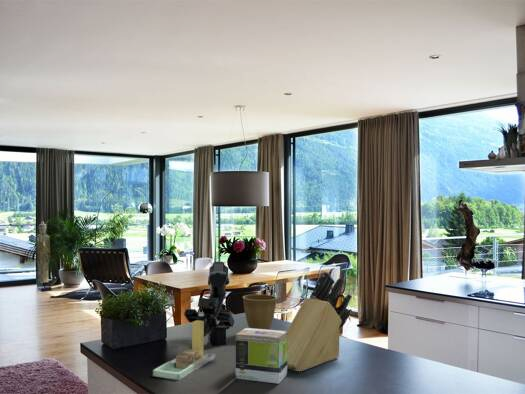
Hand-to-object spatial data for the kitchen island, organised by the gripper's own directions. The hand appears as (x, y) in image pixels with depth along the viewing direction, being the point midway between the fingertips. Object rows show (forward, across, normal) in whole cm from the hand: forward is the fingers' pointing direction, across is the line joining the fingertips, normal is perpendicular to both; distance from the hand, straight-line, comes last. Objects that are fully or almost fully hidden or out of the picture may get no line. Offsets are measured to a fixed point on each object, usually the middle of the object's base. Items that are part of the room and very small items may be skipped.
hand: (201, 337), depth 181 cm
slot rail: (+10, 0, +1) cm, 10 cm away
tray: (+19, 0, -7) cm, 20 cm away
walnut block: (+13, 0, -4) cm, 14 cm away
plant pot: (-24, +6, +36) cm, 44 cm away
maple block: (+10, 0, 0) cm, 10 cm away
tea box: (+11, +26, +1) cm, 29 cm away
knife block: (-6, +38, +18) cm, 42 cm away
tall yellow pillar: (+7, 0, +3) cm, 7 cm away
